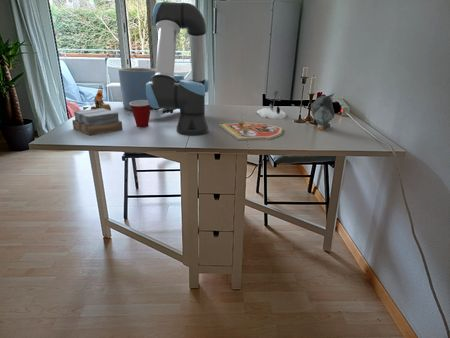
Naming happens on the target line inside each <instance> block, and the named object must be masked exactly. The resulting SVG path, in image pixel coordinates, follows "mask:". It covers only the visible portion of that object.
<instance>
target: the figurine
mask: <svg viewBox="0 0 450 338" xmlns="http://www.w3.org/2000/svg"><path fill="white" fill-rule="evenodd" d="M279 91H280V90H279V89H275V90H274V93H273V96H274V98H273V99H270V98H267V100H270V101H273V102H275V101H277V102H279V101H280V102H281V96H278V94H279ZM277 96H278V97H277ZM273 102H269V103H270V104H269V107H267V108H266V107H262V108H261V109H259V110H258V109H257V110H256V114H258V115H259V116H260V117H261V118H264V119H266V118H269V119H272V120H275V119H276V120H277V119H279V120H282V119H285V118H287V113H286V112H285V111H283V110H282V109H281V108H280V106H279V105H277V106H276V108H275V107H274V105H275V103H273Z"/></svg>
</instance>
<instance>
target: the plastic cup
mask: <svg viewBox="0 0 450 338" xmlns="http://www.w3.org/2000/svg"><path fill="white" fill-rule="evenodd" d="M129 104H130V106H131V108H132V109H131V110H132V114H133V118H134V122H135V124H136V127H138V128H147V127H149V123H150V116H151V109H150V108H151V106H150V105H149V103H148V100H137V101H132V102H130V103H129Z"/></svg>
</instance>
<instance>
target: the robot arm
mask: <svg viewBox="0 0 450 338" xmlns="http://www.w3.org/2000/svg"><path fill="white" fill-rule="evenodd" d="M152 21H153V22H152V23H153V26H154V27H155V28H156V31H157V32H158V35H157V37H158V38H157V47H156V49H157V50H156V60H155V68H154V69H155V75H153V76H152V77H151V82H147V84H146V95H147V100H148V103H149V105H150V106H151V108H150V110H151V109H153V110H155V111H157V116H162V115H166V114H169V113H170V114H173V113H174V111H175V110H179V117H178V122H177V125H176V132H177V133H178V134H180V135H185V136H201V135H205V134H208V132H209V126H208V123H207V119H206V110H205V109H206V107H205V106H206V103H205V102H206V93H208V92H209V89H210V88H209V87H210V86H209V84H210V83H209V82H210V81H209V79H206V64H205V63H206V60H205V59H206V58H205V56H206V54H205V35H206V34H207V26H206V21H205V18H204V15H203V13H202V12H201V11H200V9H199V8H198V7H197V6H195V5H194V3H191V2H187V1H184V2H183V1H168V0H163V1H162V0H160V1H157V2H155V4H154V6H153V9H152ZM181 29H186V30H187V31H186V33H187V35H188V36H189V50H190V65H191V66H190V67H191V78H185V77H184V75H182V74H174V73H175V62H176V49H177V36H178V35H180V33H181Z"/></svg>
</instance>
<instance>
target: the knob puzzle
mask: <svg viewBox="0 0 450 338" xmlns="http://www.w3.org/2000/svg"><path fill="white" fill-rule="evenodd" d="M218 126H219V127H220V128H221V129H222V130H223V131H225V132H226V134H229V135H230V136H232V137H233V138H235V140H237V141H248V140H249V141H250V140H272V139H275V138H277V137H280V136H281V135H282V134H283V127H280V126H277V125H272V124H268V123H261V122H259V123H258V122H249V121H248V122H247V121H244V120H239V121H238V122H235V123H233V122H232V123H231V122H230V123H219V125H218Z"/></svg>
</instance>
